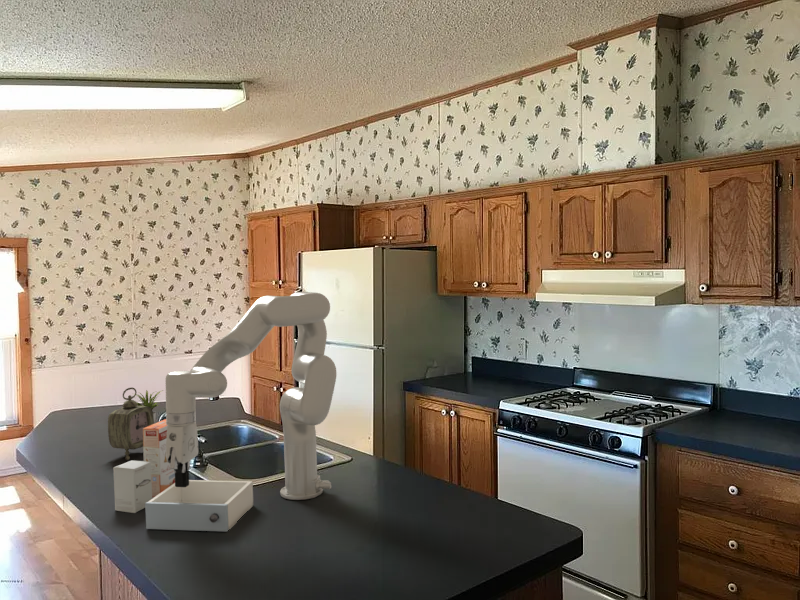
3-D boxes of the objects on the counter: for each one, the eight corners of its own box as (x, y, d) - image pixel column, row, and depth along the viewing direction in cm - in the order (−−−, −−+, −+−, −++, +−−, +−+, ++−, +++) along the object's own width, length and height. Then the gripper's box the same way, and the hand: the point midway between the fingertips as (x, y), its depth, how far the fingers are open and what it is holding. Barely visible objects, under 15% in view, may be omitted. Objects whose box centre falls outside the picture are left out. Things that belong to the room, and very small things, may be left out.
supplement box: (135, 513, 189) (133, 469, 188) (114, 510, 191) (112, 466, 191) (153, 504, 196) (151, 461, 195) (133, 501, 198) (130, 459, 198)
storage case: (253, 505, 193) (252, 481, 192) (228, 530, 175) (227, 504, 175) (180, 503, 196) (179, 479, 195) (148, 528, 178) (147, 501, 178)
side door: (228, 529, 175) (227, 504, 174) (225, 533, 173) (223, 507, 172) (148, 527, 178) (147, 501, 177) (144, 530, 176) (142, 504, 175)
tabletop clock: (128, 462, 239) (124, 392, 237) (107, 460, 242) (103, 391, 240) (155, 451, 252) (152, 384, 251) (135, 449, 255) (132, 383, 254)
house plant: (154, 421, 302) (153, 384, 301) (173, 424, 293) (172, 387, 293) (125, 427, 290) (123, 390, 289) (144, 432, 282) (142, 393, 281)
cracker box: (162, 498, 201) (159, 428, 199) (144, 497, 202) (140, 428, 201) (186, 483, 214) (183, 417, 213) (169, 482, 216) (166, 417, 214)
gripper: (181, 424, 172) (182, 495, 173) (206, 412, 187) (207, 478, 188) (153, 423, 173) (154, 494, 174) (180, 411, 188) (181, 477, 189)
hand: (182, 486), depth 181 cm, fingers closed
